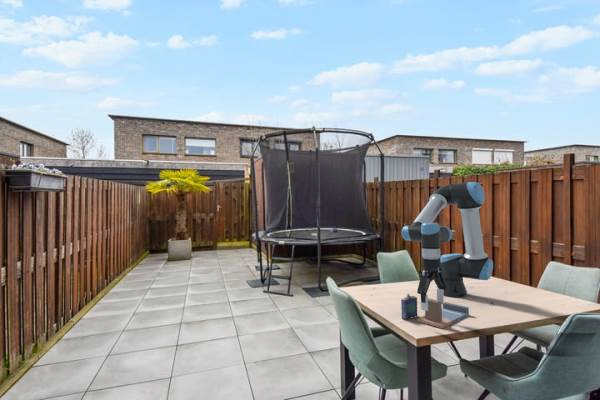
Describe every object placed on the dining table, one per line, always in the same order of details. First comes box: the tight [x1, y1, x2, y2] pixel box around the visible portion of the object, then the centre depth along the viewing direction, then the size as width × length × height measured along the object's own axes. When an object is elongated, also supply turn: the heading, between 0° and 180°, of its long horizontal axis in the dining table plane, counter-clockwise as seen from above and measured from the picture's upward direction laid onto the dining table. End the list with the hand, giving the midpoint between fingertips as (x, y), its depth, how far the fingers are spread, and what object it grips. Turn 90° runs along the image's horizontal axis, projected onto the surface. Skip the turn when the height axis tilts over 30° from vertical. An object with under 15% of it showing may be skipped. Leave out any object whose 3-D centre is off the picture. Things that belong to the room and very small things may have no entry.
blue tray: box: [442, 301, 470, 324], centre depth 141 cm, size 11×16×4 cm
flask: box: [400, 293, 418, 320], centre depth 141 cm, size 9×3×11 cm, turn 117°
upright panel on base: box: [417, 297, 453, 329], centre depth 133 cm, size 11×9×10 cm
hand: (432, 306), depth 132 cm, fingers open, 13 cm apart
